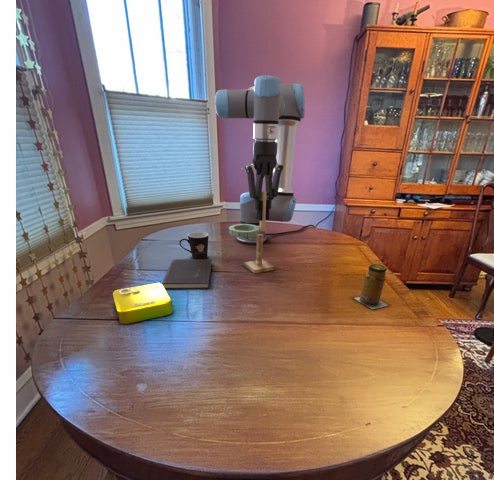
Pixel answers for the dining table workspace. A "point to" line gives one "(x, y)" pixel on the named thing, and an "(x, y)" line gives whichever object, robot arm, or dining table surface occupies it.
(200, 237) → the coffee mug
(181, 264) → the hardcover book
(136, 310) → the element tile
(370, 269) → the condiment
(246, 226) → the hoop
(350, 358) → the dining table surface
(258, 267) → the post
